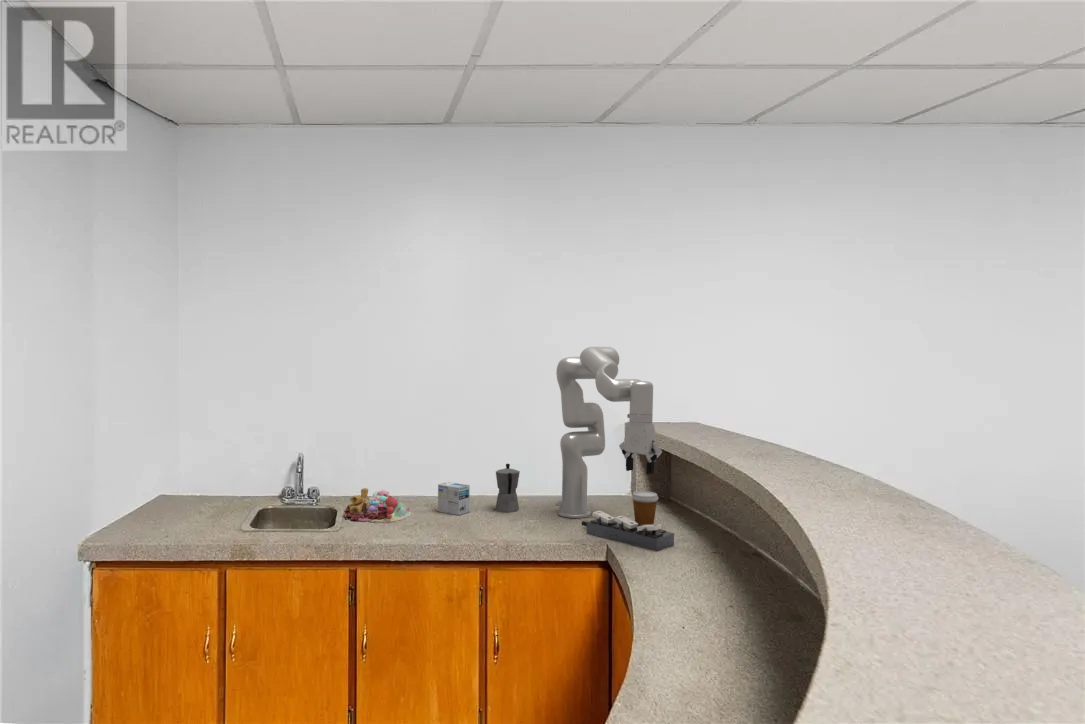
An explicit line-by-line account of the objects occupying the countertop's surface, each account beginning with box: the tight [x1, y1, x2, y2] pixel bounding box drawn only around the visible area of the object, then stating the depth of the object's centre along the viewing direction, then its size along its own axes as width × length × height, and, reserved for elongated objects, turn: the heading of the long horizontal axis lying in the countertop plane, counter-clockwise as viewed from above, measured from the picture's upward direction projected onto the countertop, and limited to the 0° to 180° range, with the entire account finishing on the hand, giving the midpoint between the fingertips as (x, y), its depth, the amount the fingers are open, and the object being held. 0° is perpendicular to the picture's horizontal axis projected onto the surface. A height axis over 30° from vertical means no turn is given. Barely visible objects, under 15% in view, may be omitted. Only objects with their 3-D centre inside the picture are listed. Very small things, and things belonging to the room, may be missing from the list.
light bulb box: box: [437, 481, 471, 516], centre depth 288 cm, size 11×7×11 cm, turn 58°
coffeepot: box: [494, 463, 521, 513], centre depth 292 cm, size 15×9×18 cm, turn 9°
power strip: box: [581, 518, 675, 552], centre depth 257 cm, size 35×10×6 cm, turn 47°
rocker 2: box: [614, 515, 638, 529], centre depth 253 cm, size 7×4×1 cm, turn 47°
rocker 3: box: [637, 523, 663, 531], centre depth 246 cm, size 7×4×1 cm, turn 47°
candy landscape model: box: [343, 487, 412, 524], centre depth 282 cm, size 25×24×9 cm
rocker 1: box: [591, 510, 615, 523], centre depth 259 cm, size 7×4×1 cm, turn 47°
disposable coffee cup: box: [631, 490, 659, 525], centre depth 271 cm, size 10×10×12 cm
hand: (639, 471), depth 249 cm, fingers open, 7 cm apart
